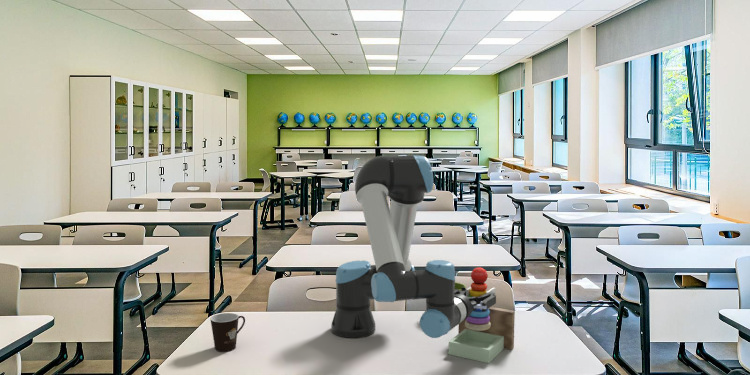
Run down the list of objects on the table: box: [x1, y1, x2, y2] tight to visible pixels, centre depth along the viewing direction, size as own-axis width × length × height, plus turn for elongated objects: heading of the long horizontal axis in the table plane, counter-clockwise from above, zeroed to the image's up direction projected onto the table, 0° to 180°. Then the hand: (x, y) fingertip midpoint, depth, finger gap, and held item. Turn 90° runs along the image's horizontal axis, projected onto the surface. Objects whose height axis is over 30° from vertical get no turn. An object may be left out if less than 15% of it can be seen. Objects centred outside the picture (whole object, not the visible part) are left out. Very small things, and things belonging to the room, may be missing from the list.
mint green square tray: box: [448, 329, 505, 364], centre depth 177 cm, size 13×13×4 cm
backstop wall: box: [457, 306, 516, 350], centre depth 183 cm, size 18×2×12 cm, turn 59°
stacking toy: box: [465, 267, 491, 331], centre depth 176 cm, size 8×8×19 cm
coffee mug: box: [210, 312, 246, 353], centre depth 180 cm, size 12×9×10 cm
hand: (484, 290), depth 180 cm, fingers closed on stacking toy, 6 cm apart
